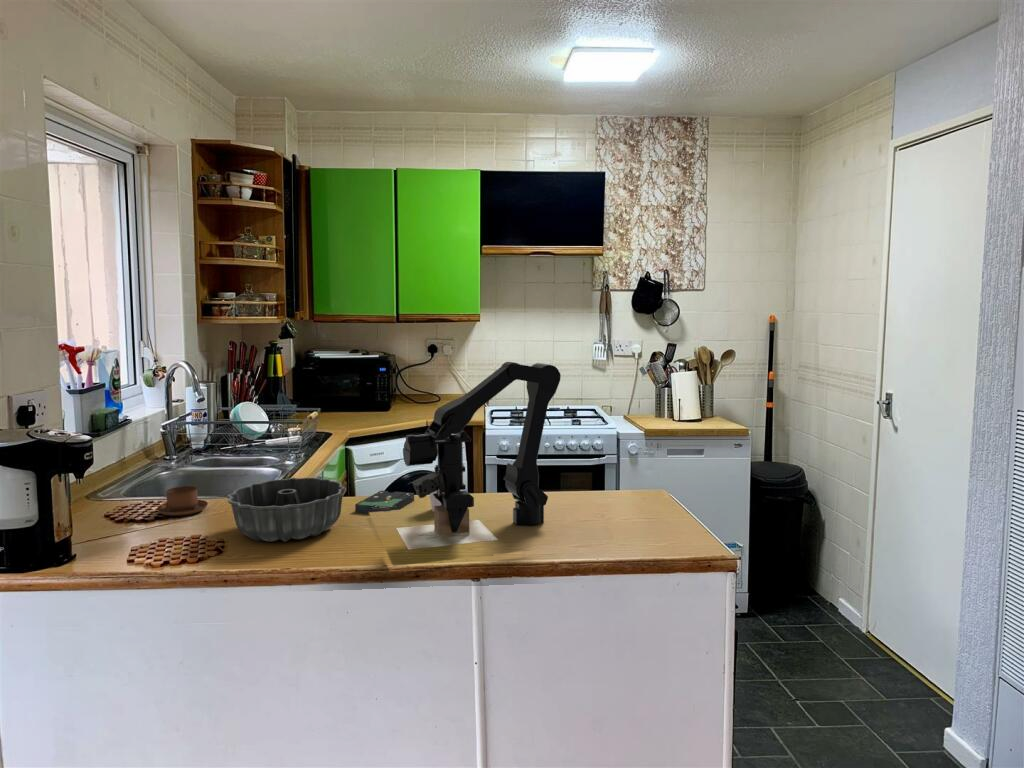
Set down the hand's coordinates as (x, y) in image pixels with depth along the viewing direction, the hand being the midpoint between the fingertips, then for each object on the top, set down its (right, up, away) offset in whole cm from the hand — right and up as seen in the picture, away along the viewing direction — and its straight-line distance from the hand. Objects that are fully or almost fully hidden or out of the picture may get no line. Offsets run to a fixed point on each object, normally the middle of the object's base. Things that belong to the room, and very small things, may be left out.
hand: (451, 528), depth 169 cm
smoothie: (-5, 0, +20) cm, 20 cm away
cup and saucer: (-72, -1, +23) cm, 75 cm away
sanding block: (0, -1, 0) cm, 1 cm away
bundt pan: (-39, -2, +6) cm, 40 cm away
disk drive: (-20, 0, +27) cm, 34 cm away
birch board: (-1, -2, 0) cm, 3 cm away
